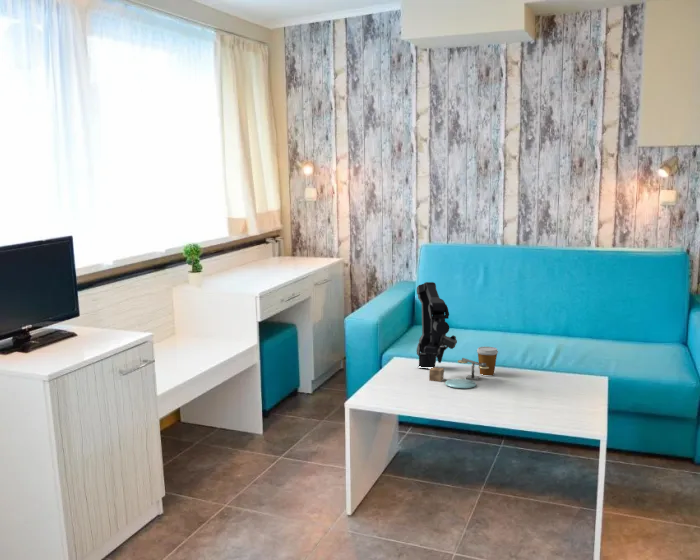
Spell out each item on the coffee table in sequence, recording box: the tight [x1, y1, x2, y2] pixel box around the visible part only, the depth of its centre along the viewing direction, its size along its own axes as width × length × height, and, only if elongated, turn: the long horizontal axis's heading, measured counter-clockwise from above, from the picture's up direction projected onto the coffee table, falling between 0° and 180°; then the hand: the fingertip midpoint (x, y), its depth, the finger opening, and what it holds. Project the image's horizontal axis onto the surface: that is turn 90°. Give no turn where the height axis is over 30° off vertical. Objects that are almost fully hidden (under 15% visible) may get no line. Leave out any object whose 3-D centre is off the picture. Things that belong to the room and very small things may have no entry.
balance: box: [457, 357, 489, 381], centre depth 298 cm, size 14×5×9 cm, turn 65°
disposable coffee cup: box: [476, 346, 499, 376], centre depth 305 cm, size 10×10×12 cm
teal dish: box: [445, 378, 477, 389], centre depth 288 cm, size 13×13×1 cm
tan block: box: [428, 366, 445, 383], centre depth 296 cm, size 5×5×5 cm
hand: (436, 365), depth 296 cm, fingers open, 9 cm apart
